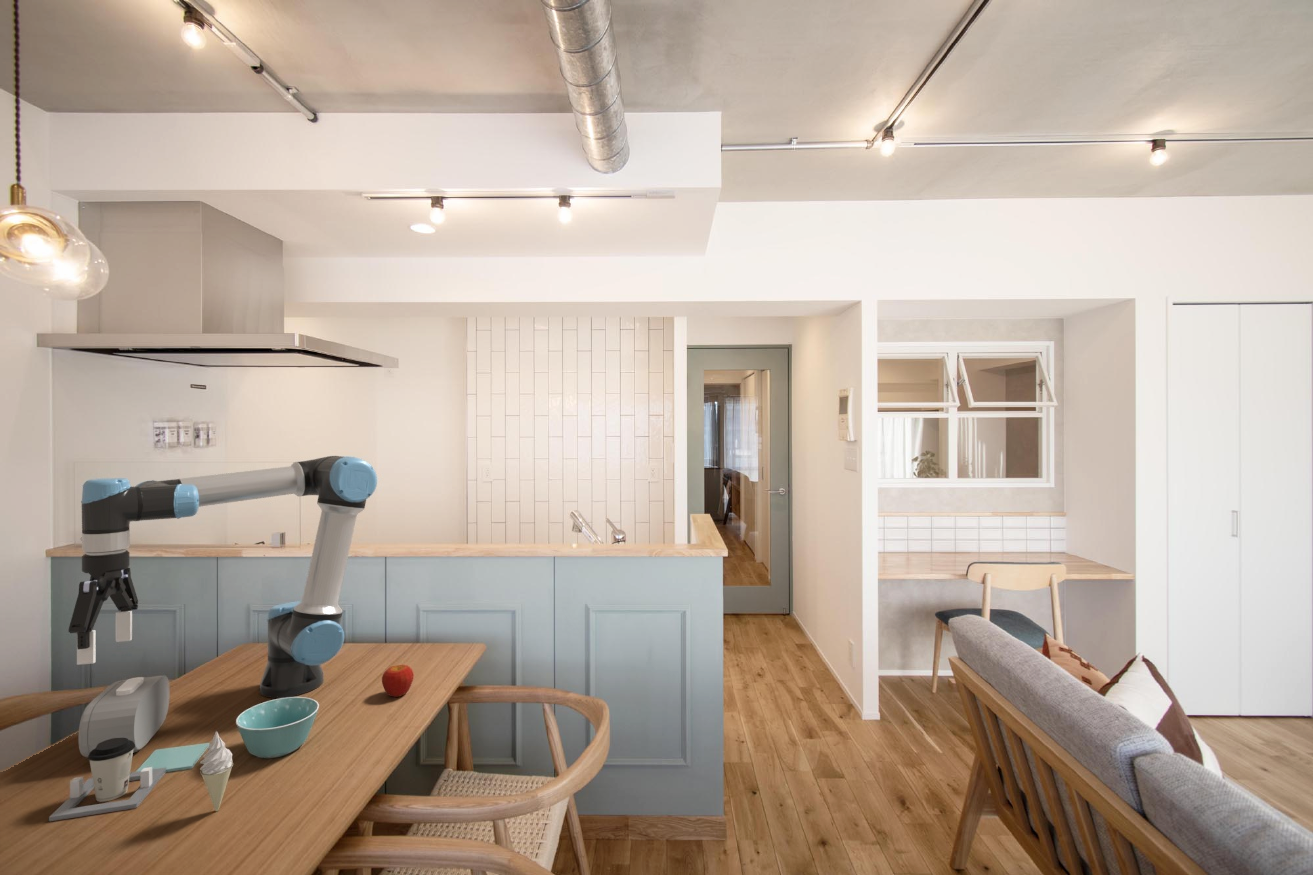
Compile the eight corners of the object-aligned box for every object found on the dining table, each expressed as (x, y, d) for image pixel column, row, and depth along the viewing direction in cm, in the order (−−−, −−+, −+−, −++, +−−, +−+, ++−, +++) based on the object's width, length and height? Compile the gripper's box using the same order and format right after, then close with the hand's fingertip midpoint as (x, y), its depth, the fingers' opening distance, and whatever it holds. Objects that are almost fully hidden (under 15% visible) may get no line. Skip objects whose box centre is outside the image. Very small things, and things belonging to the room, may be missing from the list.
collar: (166, 771, 127) (166, 751, 127) (136, 807, 115) (136, 786, 115) (89, 782, 123) (89, 762, 123) (49, 821, 111) (49, 799, 111)
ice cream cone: (211, 802, 117) (211, 724, 116) (239, 801, 117) (239, 723, 117) (193, 819, 112) (193, 738, 111) (222, 818, 112) (222, 737, 112)
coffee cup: (143, 789, 121) (143, 739, 120) (99, 809, 114) (99, 756, 114) (124, 780, 124) (124, 731, 123) (80, 799, 117) (80, 747, 117)
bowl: (334, 737, 142) (334, 702, 141) (272, 773, 127) (272, 733, 127) (284, 726, 147) (284, 692, 147) (218, 759, 132) (218, 721, 132)
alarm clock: (120, 725, 146) (120, 670, 146) (169, 719, 150) (169, 664, 150) (77, 770, 127) (76, 706, 127) (134, 761, 131) (133, 699, 130)
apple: (375, 697, 163) (375, 668, 163) (398, 686, 170) (398, 658, 170) (397, 702, 160) (397, 673, 160) (419, 690, 167) (419, 662, 167)
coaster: (209, 745, 138) (209, 742, 138) (191, 768, 128) (191, 765, 128) (155, 752, 134) (155, 749, 134) (133, 776, 125) (133, 774, 125)
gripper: (117, 541, 140) (117, 634, 140) (43, 565, 116) (44, 676, 116) (156, 540, 142) (156, 631, 143) (92, 563, 118) (92, 672, 119)
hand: (106, 651), depth 130 cm, fingers open, 13 cm apart
